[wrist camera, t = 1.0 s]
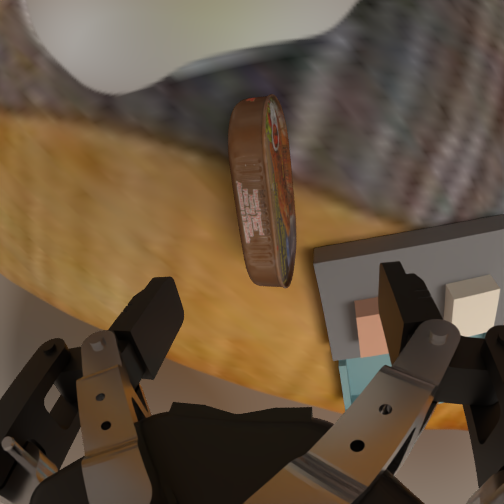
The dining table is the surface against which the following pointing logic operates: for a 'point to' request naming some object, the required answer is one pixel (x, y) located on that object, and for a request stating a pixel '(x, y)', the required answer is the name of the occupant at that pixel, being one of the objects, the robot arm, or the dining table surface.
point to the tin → (263, 189)
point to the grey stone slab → (413, 261)
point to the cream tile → (472, 304)
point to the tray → (363, 373)
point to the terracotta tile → (370, 328)
